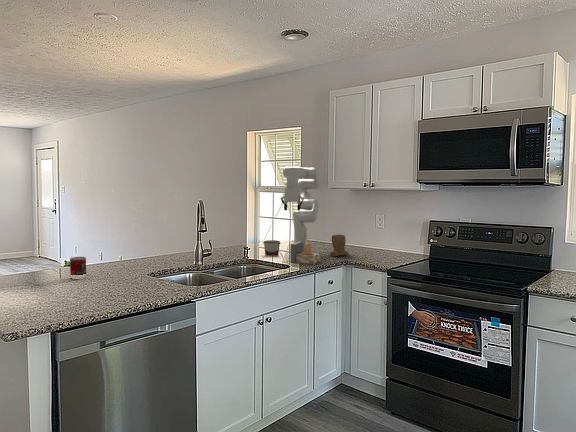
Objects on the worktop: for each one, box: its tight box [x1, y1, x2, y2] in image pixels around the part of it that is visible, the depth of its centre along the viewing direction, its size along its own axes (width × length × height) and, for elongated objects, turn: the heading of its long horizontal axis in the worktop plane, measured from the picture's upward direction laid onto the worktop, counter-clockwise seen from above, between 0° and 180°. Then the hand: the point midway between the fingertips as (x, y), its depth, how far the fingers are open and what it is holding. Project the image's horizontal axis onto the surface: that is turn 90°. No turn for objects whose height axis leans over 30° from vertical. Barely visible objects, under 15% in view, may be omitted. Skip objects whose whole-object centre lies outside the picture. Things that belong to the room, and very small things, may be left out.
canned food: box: [69, 256, 87, 275], centre depth 237 cm, size 8×8×11 cm
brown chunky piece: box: [329, 234, 350, 257], centre depth 316 cm, size 15×12×15 cm
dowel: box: [305, 242, 312, 255], centre depth 288 cm, size 4×4×12 cm
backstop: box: [289, 242, 303, 264], centre depth 291 cm, size 14×3×12 cm, turn 155°
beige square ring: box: [295, 252, 321, 265], centre depth 288 cm, size 12×12×5 cm
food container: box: [262, 239, 281, 256], centre depth 318 cm, size 12×6×10 cm, turn 84°
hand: (292, 210), depth 303 cm, fingers open, 9 cm apart
